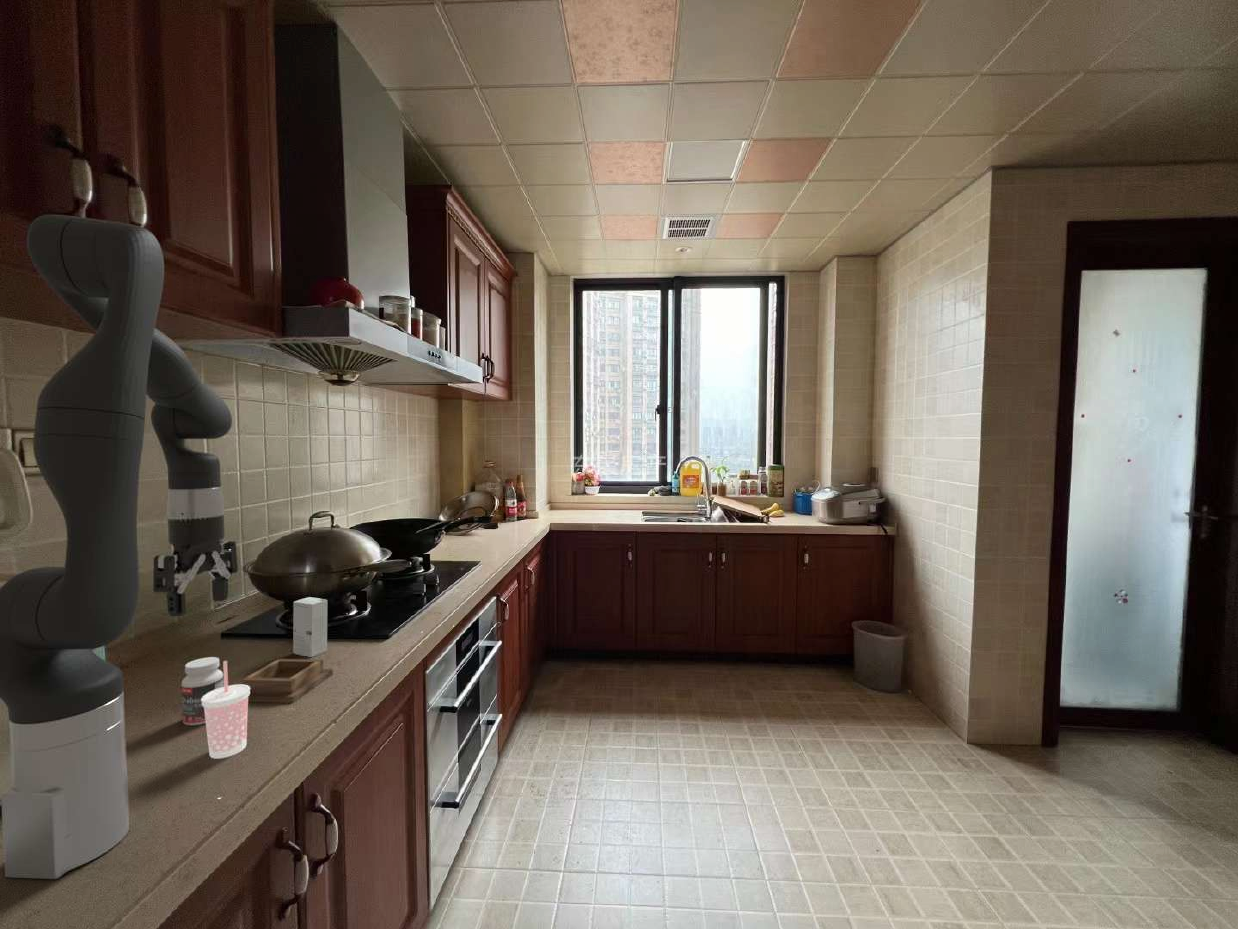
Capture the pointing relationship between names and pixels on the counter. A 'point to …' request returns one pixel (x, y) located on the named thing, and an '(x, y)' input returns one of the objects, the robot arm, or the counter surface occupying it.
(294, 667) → the wooden tray
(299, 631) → the skincare box
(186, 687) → the pill bottle
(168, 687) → the counter surface
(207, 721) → the beverage cup
